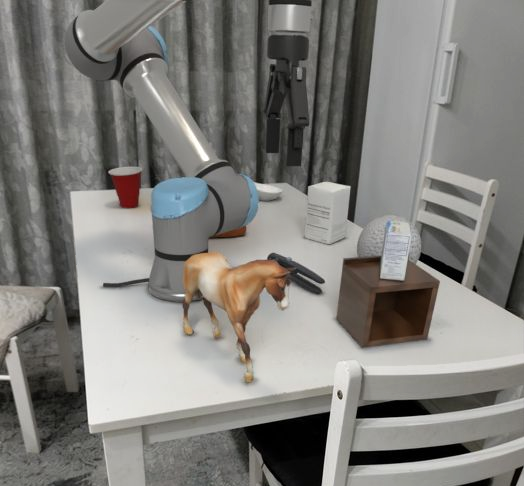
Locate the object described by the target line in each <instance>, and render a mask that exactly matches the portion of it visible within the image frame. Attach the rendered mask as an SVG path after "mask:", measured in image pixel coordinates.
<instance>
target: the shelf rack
mask: <svg viewBox="0 0 524 486" xmlns="http://www.w3.org/2000/svg"><path fill="white" fill-rule="evenodd" d="M380 262H381V256H368V257H358V256H355V257H343V258H342V269H341V276H340V284H339V293H338V302H337V309H336V310H337V311H336V317H335V318H336V321H337V322H338V323H339V324H340V325H341V326H342V327H343V329H344V330H345V331H346V332H347V333H348V334H349V335H350V336H351V337H352V339H353V340H354V341H355V342H356V343H357V344H358V345H359V346H360V347H361V348H369V347H378V346H384V345H393V344H401V343H410V342H417V341H418V342H419V341H426V340H428V338H429V333H430V328H431V324H432V320H433V315H434V310H435V306H436V302H437V298H438V293H439V288H440V284H441V280H439V279H438V278H436V277H435V276H433V275H432V274H431V273H429V272H428V271H426V270H425V269H423V268H422V267H420V266H419V265H417V263H416V264H414V263H413V262H411V261H410V260H409V255H408V261H407V267H406V273H405V279H404V280H403V281H399V280H389V279H381V278H380Z"/></svg>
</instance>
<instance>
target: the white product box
mask: <svg viewBox="0 0 524 486" xmlns="http://www.w3.org/2000/svg"><path fill="white" fill-rule="evenodd" d="M351 187H352V186H351V185H345V184H340V183H335V182H331V181H322V182H318V183H316V184H311V185H309V186H307V198H306V210H305V212H306V213H305V227H304V239H308V240H312V241H315V242H319V243H322V244H326V245H331V244H334V243H336V242H338V241H340V240H342V239H345V238H346V236H347V235H346V234H347V226H348V225H347V224H348V215H349V205H350V198H351V197H350V196H351Z"/></svg>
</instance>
